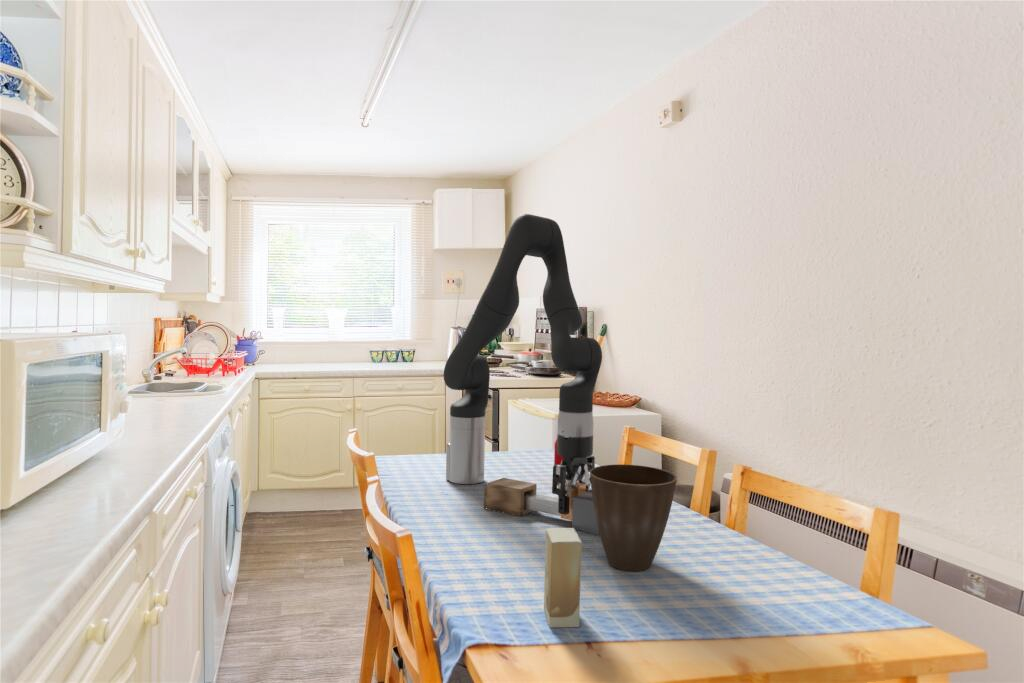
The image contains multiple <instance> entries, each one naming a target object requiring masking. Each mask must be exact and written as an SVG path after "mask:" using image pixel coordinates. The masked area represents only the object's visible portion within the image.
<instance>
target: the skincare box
mask: <svg viewBox="0 0 1024 683" xmlns="http://www.w3.org/2000/svg"><path fill="white" fill-rule="evenodd" d="M582 546H583V545H582V540H581V538H580V537H579V534H578V533H577V530H575V529H574V528H572V527H550V528H549V527H546V528H545V560H544V561H545V562H544V590H543V591H544V594H543V610H544V615H545V618H546V622H547V625H548V628H550V629H551V628H553V629H554V628H555V629H556V628H579V627H580V610H581V609H580V607H581V606H580V605H581V604H580V603H581V578H582V577H581V576H582V574H581V573H582Z"/></svg>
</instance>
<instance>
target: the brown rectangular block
mask: <svg viewBox="0 0 1024 683" xmlns="http://www.w3.org/2000/svg"><path fill="white" fill-rule="evenodd" d="M524 492H527V493H533V494H537V483H534V482H529V481H523V480H517V479H512V478H507V477H502V478H500V479H496V480H493V481H489V482H487V484H486V485H485V486H484V488H483V509H484V508H487V509H486V510H488V509H490V510H489V511H493V510H495V511H494V512H497V511H500V512H499V513H502V512H504V513H503V514H506V513H509V514H508V515H511V514H513V515H512V516H516V515H517V516H516V517H522V515H523V516H525V515H527V514H529V512H530V513H532V512H535V511H534V510H529V509H524ZM531 511H532V512H531ZM524 514H525V515H524Z"/></svg>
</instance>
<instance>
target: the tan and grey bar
mask: <svg viewBox="0 0 1024 683" xmlns="http://www.w3.org/2000/svg"><path fill="white" fill-rule="evenodd" d="M566 488H567V486H566V487H565V490H566ZM584 492H586V484H584V483H578V482H576V483H575V486H574V487H572V488H571V491H570V494H569V496H570V501H569V514H567V515H564V514H560V513H559V512H558V501H559V497H554V496H548V495H543V494H542V495H541V494H537V493H536V494H533V493H527V492H524V509H529V510H534V511H533V512H540V513H544V514H549V515H554V516H558V517H560V519H564V520H568V521H572V504H573V497H575V496H577V495H580V494H582V493H584Z"/></svg>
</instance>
